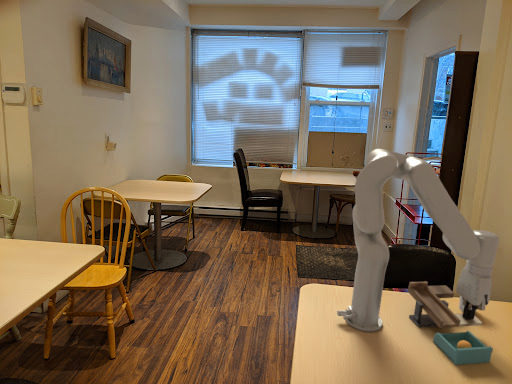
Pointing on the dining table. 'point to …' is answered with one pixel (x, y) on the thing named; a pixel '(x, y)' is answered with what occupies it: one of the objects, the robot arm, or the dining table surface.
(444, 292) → the walnut lever
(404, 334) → the dining table surface
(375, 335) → the dining table surface
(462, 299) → the white cup
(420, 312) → the lever stand
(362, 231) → the robot arm
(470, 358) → the teal tray
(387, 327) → the dining table surface
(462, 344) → the orange ball
